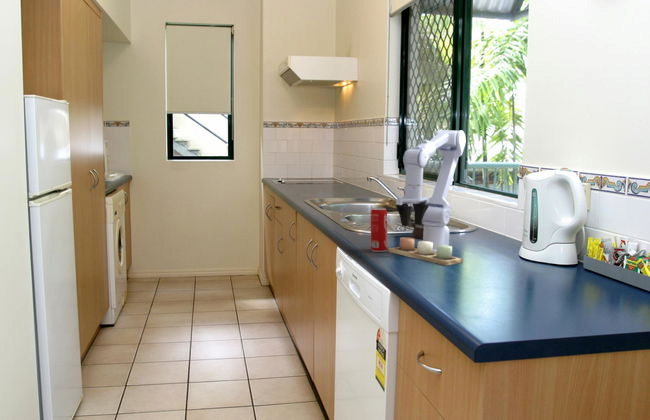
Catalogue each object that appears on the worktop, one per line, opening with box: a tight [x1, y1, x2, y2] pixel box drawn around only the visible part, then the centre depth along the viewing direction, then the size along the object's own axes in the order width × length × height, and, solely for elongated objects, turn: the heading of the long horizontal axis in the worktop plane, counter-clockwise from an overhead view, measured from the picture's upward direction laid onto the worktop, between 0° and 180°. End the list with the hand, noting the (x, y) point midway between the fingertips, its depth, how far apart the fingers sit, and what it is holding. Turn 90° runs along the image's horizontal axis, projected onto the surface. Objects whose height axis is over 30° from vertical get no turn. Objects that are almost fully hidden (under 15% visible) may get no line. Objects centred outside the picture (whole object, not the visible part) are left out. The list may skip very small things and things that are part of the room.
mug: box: [407, 204, 424, 240], centre depth 246 cm, size 16×12×15 cm
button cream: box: [417, 240, 433, 254], centre depth 207 cm, size 5×5×4 cm
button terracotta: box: [399, 236, 416, 250], centre depth 213 cm, size 5×5×4 cm
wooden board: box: [387, 246, 464, 266], centre depth 207 cm, size 9×25×1 cm, turn 41°
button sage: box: [435, 245, 453, 258], centre depth 201 cm, size 5×5×4 cm
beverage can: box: [370, 207, 388, 253], centre depth 214 cm, size 6×6×15 cm
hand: (411, 225), depth 208 cm, fingers open, 6 cm apart
